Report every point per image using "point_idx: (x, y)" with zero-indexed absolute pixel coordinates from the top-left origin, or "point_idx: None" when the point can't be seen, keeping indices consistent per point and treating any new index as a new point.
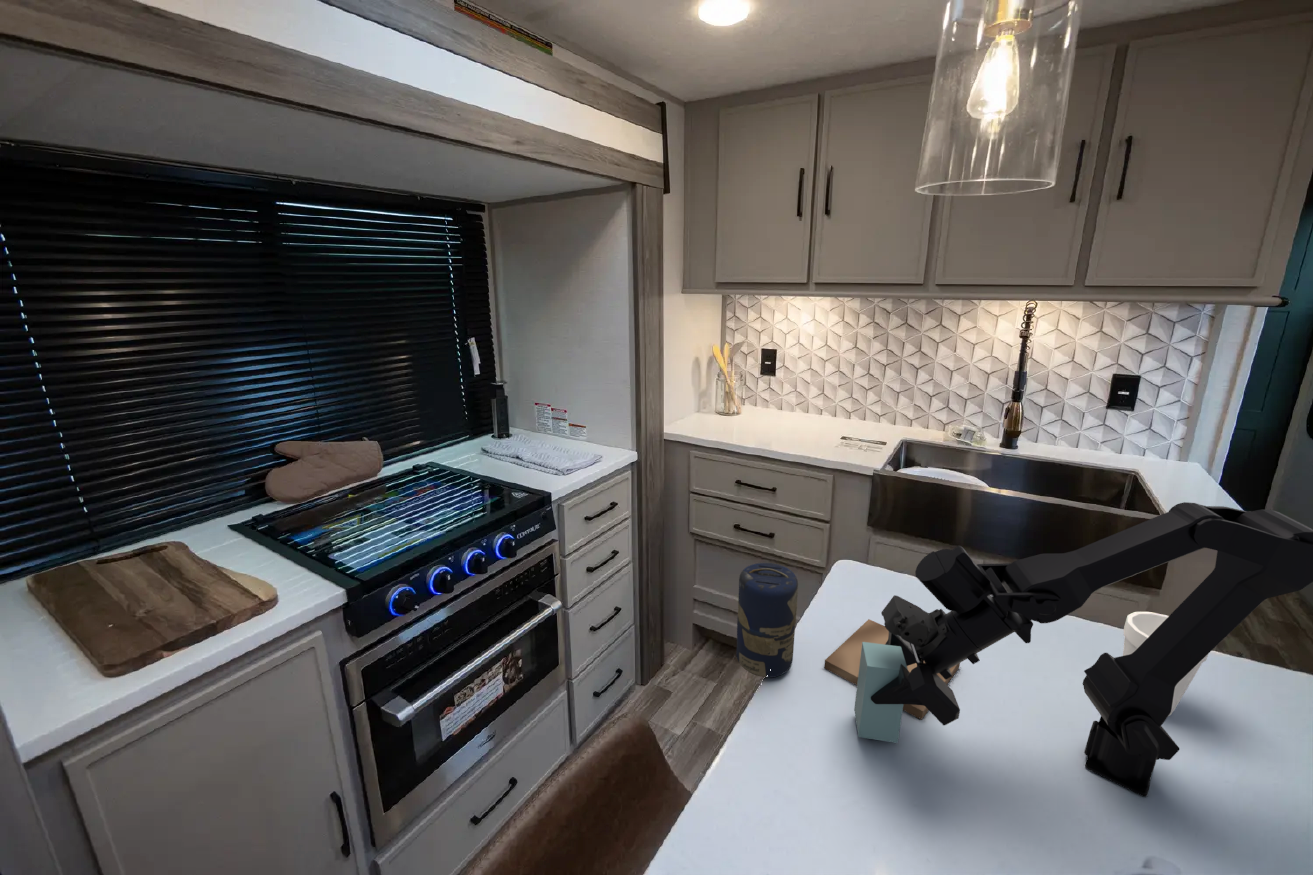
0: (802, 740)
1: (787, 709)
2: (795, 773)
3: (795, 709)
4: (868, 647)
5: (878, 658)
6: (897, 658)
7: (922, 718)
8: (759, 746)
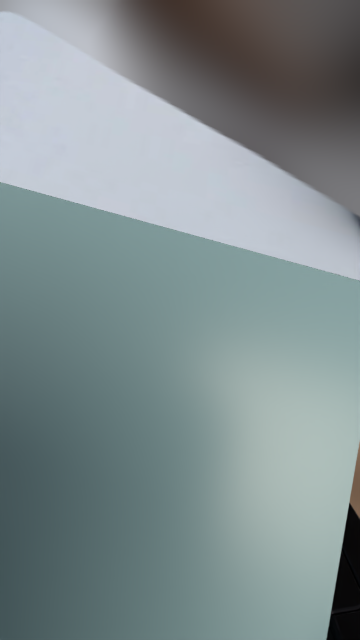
0: (167, 224)
1: (259, 219)
2: (91, 188)
3: (258, 236)
4: (275, 311)
5: (73, 339)
6: (22, 607)
7: None
8: (162, 143)
